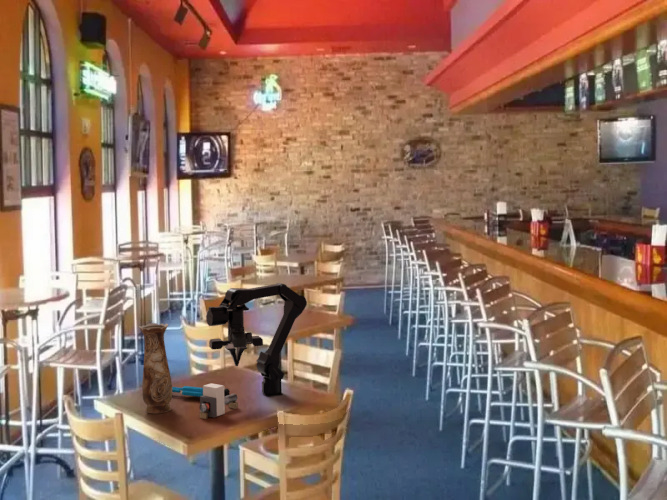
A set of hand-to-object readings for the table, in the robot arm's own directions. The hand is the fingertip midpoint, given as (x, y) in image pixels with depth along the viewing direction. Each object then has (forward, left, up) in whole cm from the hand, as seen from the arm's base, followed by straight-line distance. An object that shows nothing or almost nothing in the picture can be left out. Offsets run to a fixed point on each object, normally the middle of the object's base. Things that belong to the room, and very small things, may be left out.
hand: (236, 365), depth 293 cm
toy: (+15, -9, -13) cm, 21 cm away
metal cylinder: (+9, +14, -12) cm, 21 cm away
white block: (+11, +15, -12) cm, 23 cm away
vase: (+29, +3, -13) cm, 32 cm away
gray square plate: (+14, +17, -12) cm, 25 cm away
